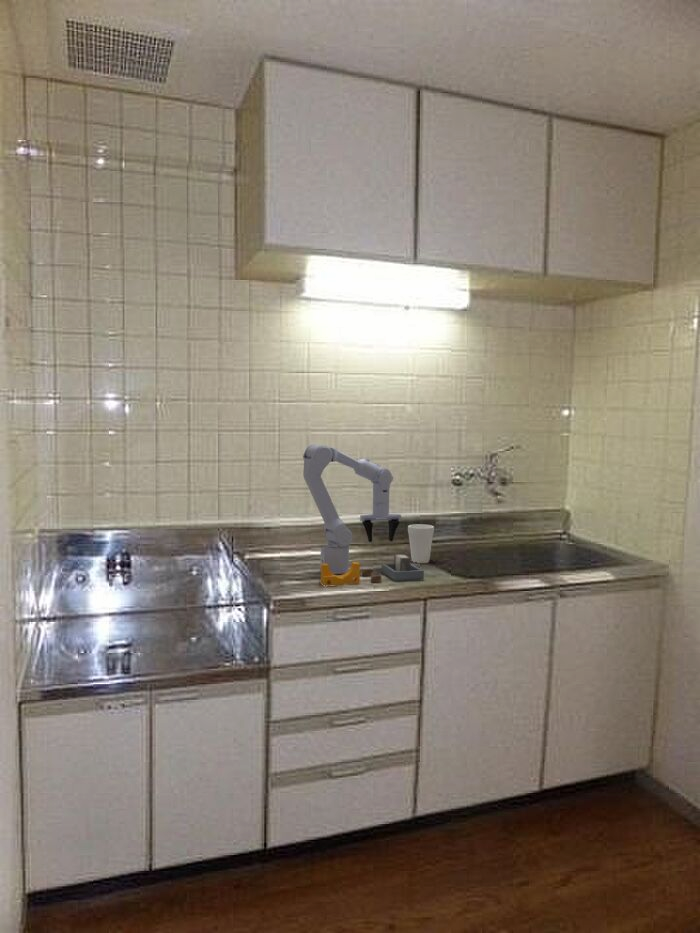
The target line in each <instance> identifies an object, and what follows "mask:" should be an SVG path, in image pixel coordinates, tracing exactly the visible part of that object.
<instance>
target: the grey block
mask: <svg viewBox="0 0 700 933" xmlns="http://www.w3.org/2000/svg"><path fill="white" fill-rule="evenodd" d="M393 559H394V560H393V561H394V570H395V571H410V563H411V558H410V557H409V556H407V555H405V554H403V553H399V554H394V556H393Z"/></svg>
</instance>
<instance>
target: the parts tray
mask: <svg viewBox="0 0 700 933" xmlns="http://www.w3.org/2000/svg"><path fill="white" fill-rule="evenodd" d="M424 572H425V571H424V570H423V568H419V567H418V566H416V565H414V564H412V563H411V562H410V571H395V570H394V563H382V564H381V574H382V575H385V577H387V578H389V579H390V580H392V581H393V582H394V581H396V582H409V581H410V580H413V581H422V580H421V579H424V578H425V576H424V574H425V573H424ZM424 580H425V579H424Z"/></svg>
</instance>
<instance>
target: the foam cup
mask: <svg viewBox="0 0 700 933" xmlns="http://www.w3.org/2000/svg"><path fill="white" fill-rule="evenodd" d="M407 533H408V541H409V548H410V556H411V558H410V560H411V562H412V561H413V562H412V563H415V562H417V563H416V564H427V563H429V562H430V558H431V551H432V545H433V537H434V534H435V526H433V525H431V524H421V523H420V524H409V525H408V526H407Z"/></svg>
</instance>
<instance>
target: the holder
mask: <svg viewBox="0 0 700 933" xmlns="http://www.w3.org/2000/svg"><path fill="white" fill-rule="evenodd" d="M361 576H362V577H370V582H371V583H372V584H374V583H375V584H377V583H378V582H379V583H382V575H380V574H379V575H378V574H377V575H373V569H372V568H364V569H363V568H362V569H361Z"/></svg>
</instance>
